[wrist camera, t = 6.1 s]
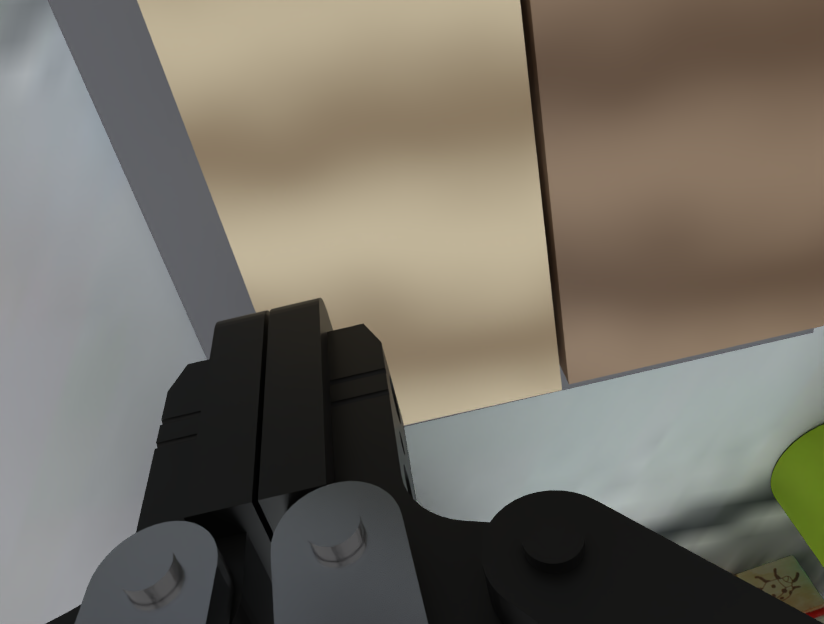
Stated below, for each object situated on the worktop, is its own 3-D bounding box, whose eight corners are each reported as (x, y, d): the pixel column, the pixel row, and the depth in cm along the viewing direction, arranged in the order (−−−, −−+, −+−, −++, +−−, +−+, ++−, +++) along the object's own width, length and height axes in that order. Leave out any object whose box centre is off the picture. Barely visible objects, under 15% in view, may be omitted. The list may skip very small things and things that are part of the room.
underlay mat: (-156, -478, 15) (-169, -488, 14) (939, -744, 15) (958, -761, 14) (253, 452, 29) (252, 461, 29) (805, 325, 29) (813, 332, 29)
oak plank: (17, -384, 15) (-19, -409, 14) (446, -489, 15) (462, -526, 14) (307, 409, 28) (307, 447, 26) (547, 355, 27) (562, 390, 26)
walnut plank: (458, -488, 15) (477, -527, 14) (888, -592, 15) (960, -643, 14) (553, 350, 28) (569, 384, 26) (792, 295, 27) (823, 325, 26)
